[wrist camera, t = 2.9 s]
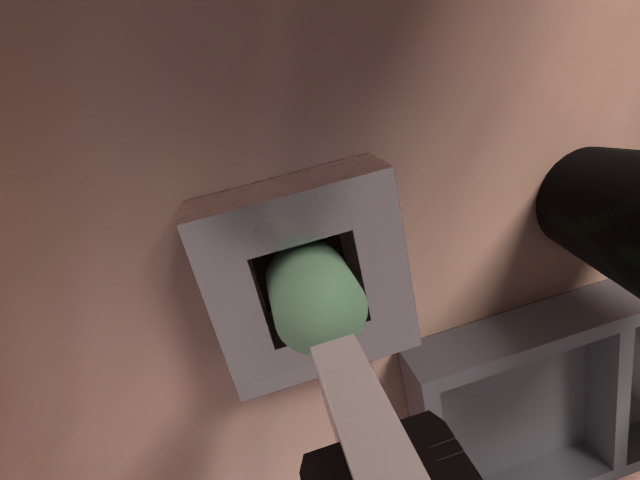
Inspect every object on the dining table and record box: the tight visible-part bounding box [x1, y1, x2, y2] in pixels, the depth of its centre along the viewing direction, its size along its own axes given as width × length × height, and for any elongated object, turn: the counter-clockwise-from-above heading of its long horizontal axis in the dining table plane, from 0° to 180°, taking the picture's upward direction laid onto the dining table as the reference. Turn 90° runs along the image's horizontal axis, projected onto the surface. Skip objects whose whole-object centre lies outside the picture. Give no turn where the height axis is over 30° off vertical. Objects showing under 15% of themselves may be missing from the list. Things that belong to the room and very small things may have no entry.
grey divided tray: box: [398, 279, 640, 480], centre depth 28 cm, size 12×24×4 cm, turn 103°
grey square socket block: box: [176, 153, 422, 402], centre depth 21 cm, size 9×9×4 cm
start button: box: [266, 240, 368, 355], centre depth 20 cm, size 4×4×4 cm
